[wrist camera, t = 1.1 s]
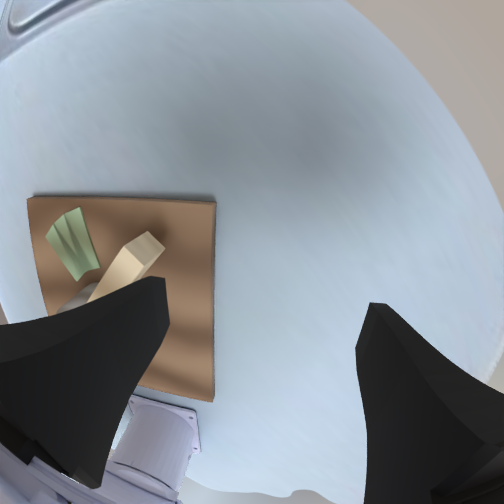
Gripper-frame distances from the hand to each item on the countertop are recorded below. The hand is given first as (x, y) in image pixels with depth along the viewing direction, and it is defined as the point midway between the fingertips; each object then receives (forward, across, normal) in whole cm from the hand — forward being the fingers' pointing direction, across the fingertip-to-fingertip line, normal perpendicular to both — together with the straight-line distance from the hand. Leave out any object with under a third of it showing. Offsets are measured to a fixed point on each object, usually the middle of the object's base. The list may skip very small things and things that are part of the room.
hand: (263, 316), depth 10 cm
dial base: (+9, +13, +8) cm, 18 cm away
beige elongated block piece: (+8, +11, +5) cm, 15 cm away
